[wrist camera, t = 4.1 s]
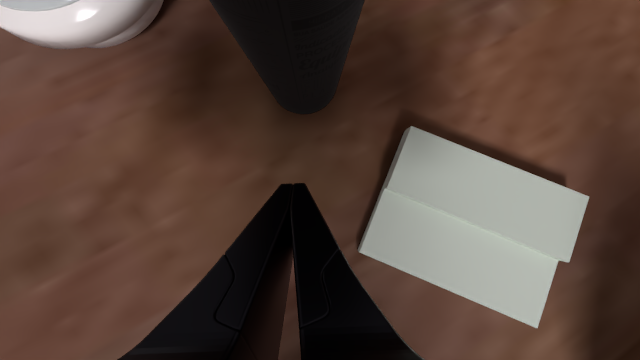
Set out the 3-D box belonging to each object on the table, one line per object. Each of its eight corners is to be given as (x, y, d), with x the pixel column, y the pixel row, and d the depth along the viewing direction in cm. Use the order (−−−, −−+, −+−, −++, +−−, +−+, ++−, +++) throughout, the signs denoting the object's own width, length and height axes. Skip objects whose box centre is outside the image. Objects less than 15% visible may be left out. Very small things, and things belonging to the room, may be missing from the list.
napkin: (567, 196, 18) (589, 195, 16) (527, 322, 17) (547, 333, 15) (404, 131, 18) (411, 124, 17) (357, 250, 17) (360, 254, 16)
